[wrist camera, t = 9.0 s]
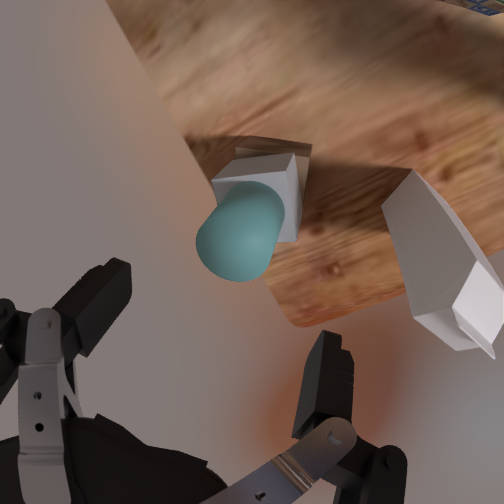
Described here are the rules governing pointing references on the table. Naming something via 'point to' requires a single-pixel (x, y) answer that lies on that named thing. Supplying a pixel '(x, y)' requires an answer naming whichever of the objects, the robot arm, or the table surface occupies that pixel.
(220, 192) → the grey block
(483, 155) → the table surface
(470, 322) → the milk
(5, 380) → the robot arm
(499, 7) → the stack of blocks
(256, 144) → the walnut block
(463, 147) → the table surface
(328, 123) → the table surface
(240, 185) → the teal cylinder
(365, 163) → the table surface
